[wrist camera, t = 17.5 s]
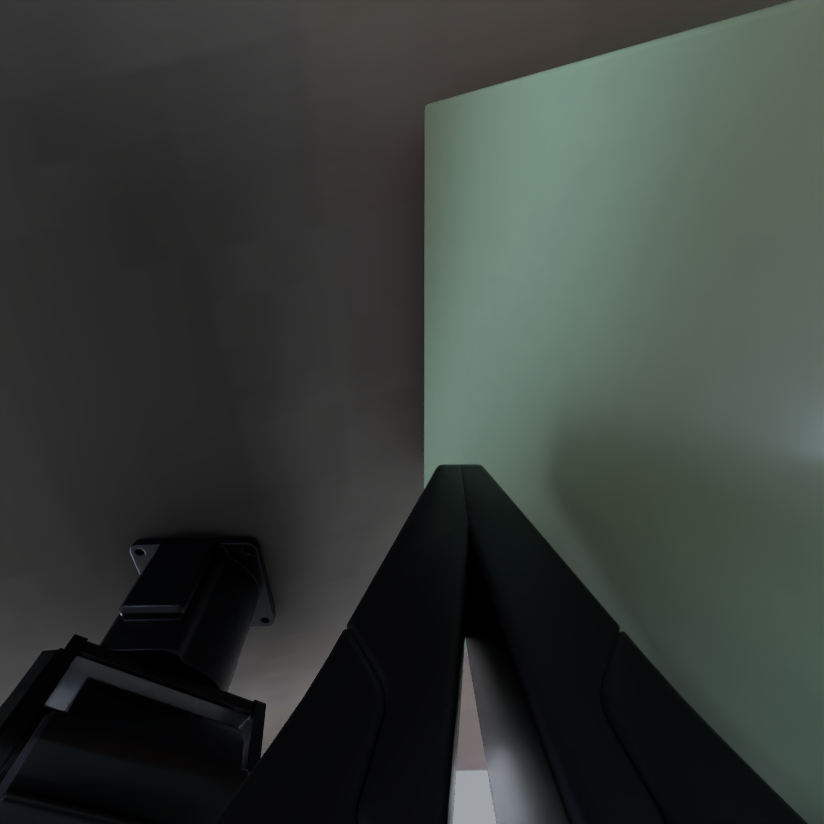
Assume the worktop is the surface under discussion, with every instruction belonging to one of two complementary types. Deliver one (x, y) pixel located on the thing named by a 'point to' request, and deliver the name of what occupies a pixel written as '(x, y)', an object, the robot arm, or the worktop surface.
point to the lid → (654, 351)
